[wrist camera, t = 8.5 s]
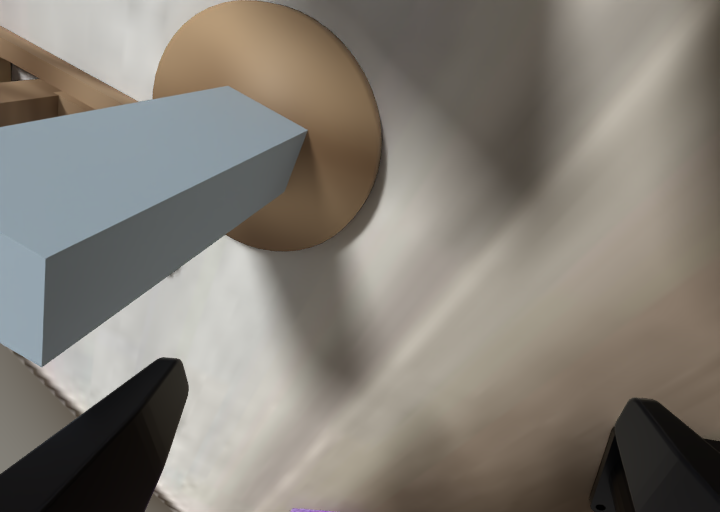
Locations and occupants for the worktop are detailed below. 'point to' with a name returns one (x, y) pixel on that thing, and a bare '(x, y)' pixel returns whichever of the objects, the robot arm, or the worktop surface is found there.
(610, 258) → the worktop surface
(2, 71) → the offcut stack
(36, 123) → the grey-blue rectangular block
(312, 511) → the sponges
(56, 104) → the rack
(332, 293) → the worktop surface
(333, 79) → the disc
